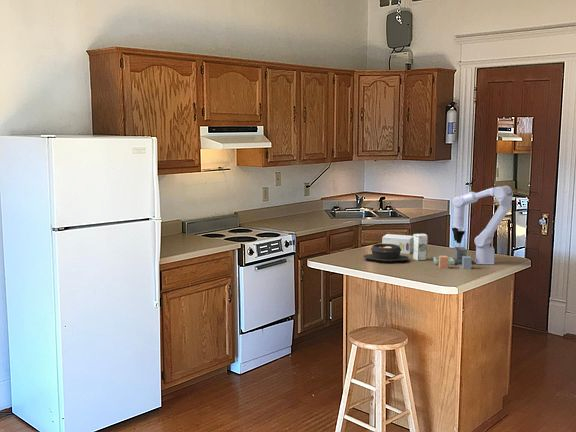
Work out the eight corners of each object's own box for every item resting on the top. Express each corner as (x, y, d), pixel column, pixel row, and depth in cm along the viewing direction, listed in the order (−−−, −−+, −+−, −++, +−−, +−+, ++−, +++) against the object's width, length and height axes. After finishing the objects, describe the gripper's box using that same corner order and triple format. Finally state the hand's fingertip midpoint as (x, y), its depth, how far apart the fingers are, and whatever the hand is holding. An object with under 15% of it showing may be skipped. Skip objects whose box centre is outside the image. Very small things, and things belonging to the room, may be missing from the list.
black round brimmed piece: (361, 262, 342) (361, 247, 341) (365, 256, 360) (365, 242, 359) (407, 265, 336) (408, 249, 335) (409, 258, 354) (409, 243, 353)
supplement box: (381, 252, 373) (381, 236, 372) (386, 248, 385) (387, 233, 384) (409, 254, 367) (410, 238, 366) (414, 250, 379) (414, 235, 378)
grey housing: (464, 260, 347) (465, 246, 346) (468, 264, 337) (468, 250, 336) (451, 260, 348) (452, 246, 347) (455, 264, 337) (455, 250, 336)
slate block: (469, 267, 330) (470, 256, 329) (471, 269, 326) (471, 257, 325) (462, 267, 331) (462, 256, 330) (463, 268, 327) (463, 257, 326)
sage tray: (451, 261, 346) (451, 257, 345) (454, 265, 336) (454, 261, 336) (433, 261, 347) (433, 257, 346) (435, 264, 337) (435, 260, 336)
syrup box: (421, 258, 354) (422, 233, 352) (426, 260, 348) (427, 234, 346) (412, 259, 352) (413, 233, 350) (417, 261, 347) (418, 235, 345)
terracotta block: (446, 267, 331) (446, 255, 331) (447, 268, 327) (448, 257, 327) (438, 266, 332) (439, 255, 331) (439, 268, 328) (440, 257, 327)
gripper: (449, 215, 355) (448, 239, 357) (453, 219, 341) (452, 244, 343) (462, 216, 355) (460, 239, 357) (466, 219, 341) (465, 244, 342)
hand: (457, 241), depth 350 cm, fingers open, 7 cm apart
